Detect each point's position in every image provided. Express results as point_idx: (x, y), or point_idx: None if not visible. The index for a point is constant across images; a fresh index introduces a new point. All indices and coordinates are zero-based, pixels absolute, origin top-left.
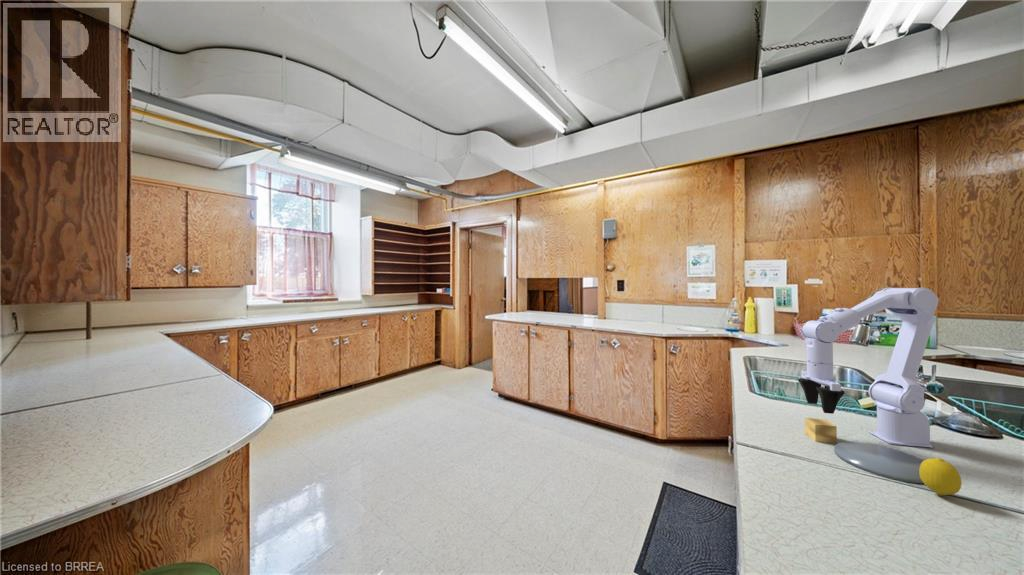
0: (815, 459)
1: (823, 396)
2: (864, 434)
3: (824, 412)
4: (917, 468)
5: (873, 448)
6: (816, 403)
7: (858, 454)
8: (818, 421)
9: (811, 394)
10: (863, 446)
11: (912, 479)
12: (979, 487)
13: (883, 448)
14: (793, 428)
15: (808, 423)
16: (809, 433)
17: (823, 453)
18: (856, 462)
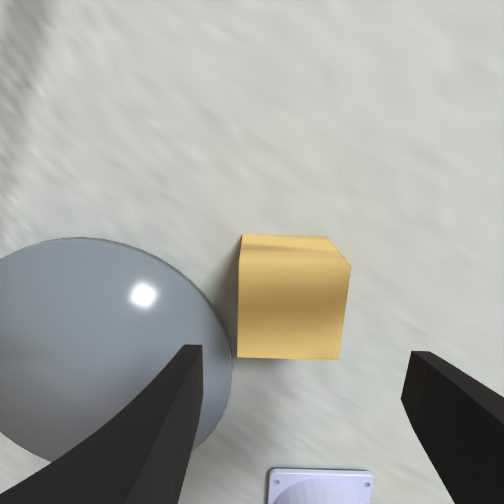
0: (29, 120)
1: (45, 468)
2: (350, 447)
3: (186, 345)
4: (51, 420)
5: None
6: (403, 401)
7: (103, 312)
8: (296, 307)
9: (462, 443)
10: None
11: None
12: None
13: None
14: (391, 216)
15: (308, 256)
16: (292, 240)
17: (114, 195)
18: (15, 260)
